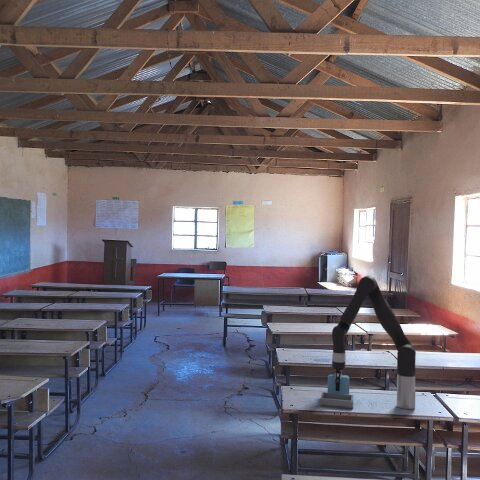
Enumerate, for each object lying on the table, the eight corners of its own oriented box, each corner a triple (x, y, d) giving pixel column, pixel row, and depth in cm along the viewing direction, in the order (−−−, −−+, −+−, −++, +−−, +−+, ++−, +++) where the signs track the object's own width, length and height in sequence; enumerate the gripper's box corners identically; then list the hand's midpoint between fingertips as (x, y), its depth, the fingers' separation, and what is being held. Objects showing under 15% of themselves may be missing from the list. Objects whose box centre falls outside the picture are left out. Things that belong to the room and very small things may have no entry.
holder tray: (353, 402, 275) (353, 394, 275) (352, 409, 264) (353, 401, 264) (322, 399, 280) (322, 392, 280) (320, 405, 268) (320, 398, 268)
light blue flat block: (348, 396, 286) (349, 375, 286) (349, 399, 281) (349, 377, 281) (327, 395, 288) (327, 374, 288) (327, 397, 283) (327, 376, 283)
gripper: (345, 363, 276) (344, 393, 277) (345, 357, 290) (345, 385, 290) (331, 362, 278) (330, 391, 278) (332, 356, 292) (331, 384, 292)
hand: (337, 388), depth 284 cm, fingers open, 8 cm apart
